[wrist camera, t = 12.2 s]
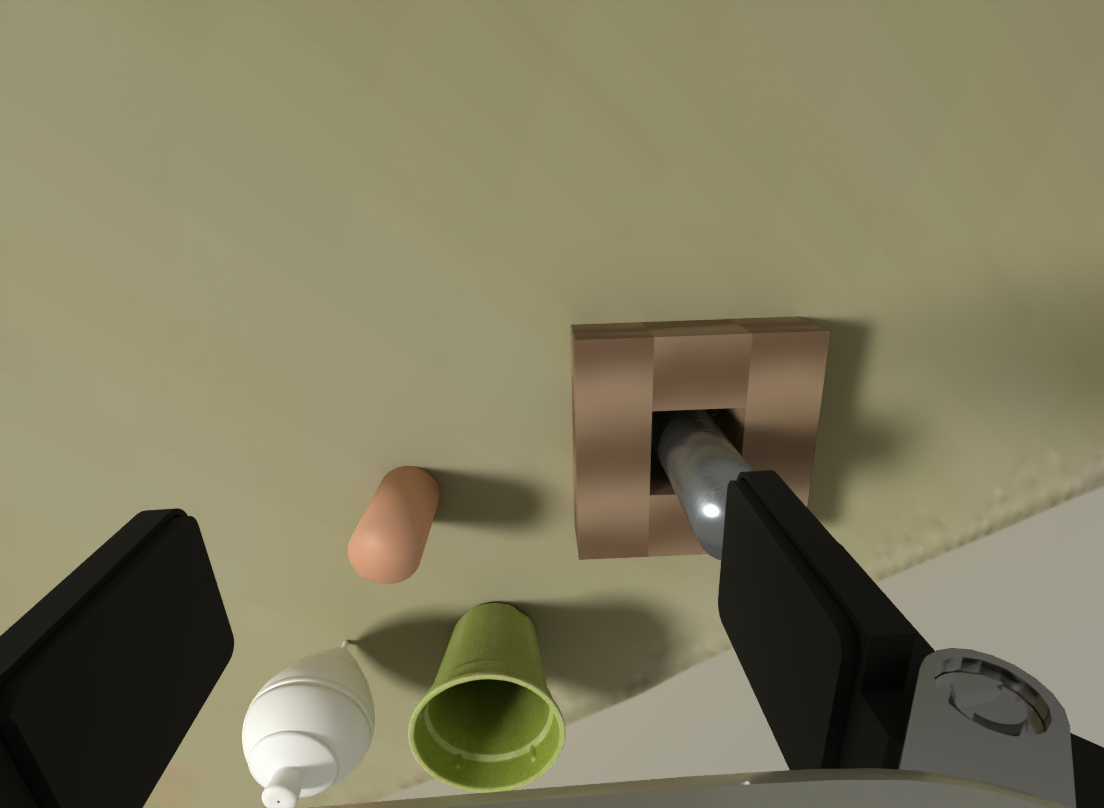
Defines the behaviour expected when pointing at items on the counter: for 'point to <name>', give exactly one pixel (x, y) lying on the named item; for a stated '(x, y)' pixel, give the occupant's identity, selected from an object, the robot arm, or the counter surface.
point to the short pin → (395, 526)
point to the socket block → (684, 384)
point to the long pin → (698, 469)
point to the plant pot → (488, 706)
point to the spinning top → (308, 727)
